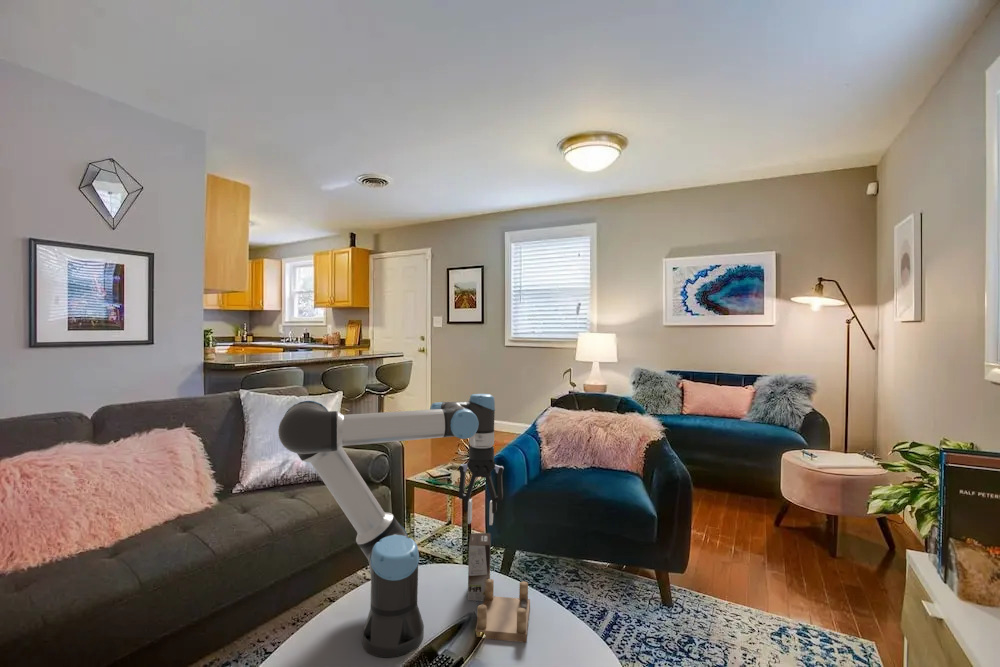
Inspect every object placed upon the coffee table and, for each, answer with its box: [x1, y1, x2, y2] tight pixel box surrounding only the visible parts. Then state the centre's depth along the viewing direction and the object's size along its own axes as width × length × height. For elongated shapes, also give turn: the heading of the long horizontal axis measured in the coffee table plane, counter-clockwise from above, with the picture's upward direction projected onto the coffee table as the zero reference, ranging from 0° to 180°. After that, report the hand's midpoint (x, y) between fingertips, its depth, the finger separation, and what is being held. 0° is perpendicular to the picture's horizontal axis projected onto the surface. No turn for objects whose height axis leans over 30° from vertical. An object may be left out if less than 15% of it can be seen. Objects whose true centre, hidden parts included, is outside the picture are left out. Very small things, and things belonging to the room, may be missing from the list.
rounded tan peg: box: [518, 581, 529, 605], centre depth 129 cm, size 5×2×5 cm, turn 177°
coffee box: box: [467, 532, 492, 602], centre depth 138 cm, size 9×6×16 cm
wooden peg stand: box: [474, 578, 531, 643], centre depth 124 cm, size 13×16×7 cm
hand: (480, 522), depth 139 cm, fingers open, 6 cm apart
